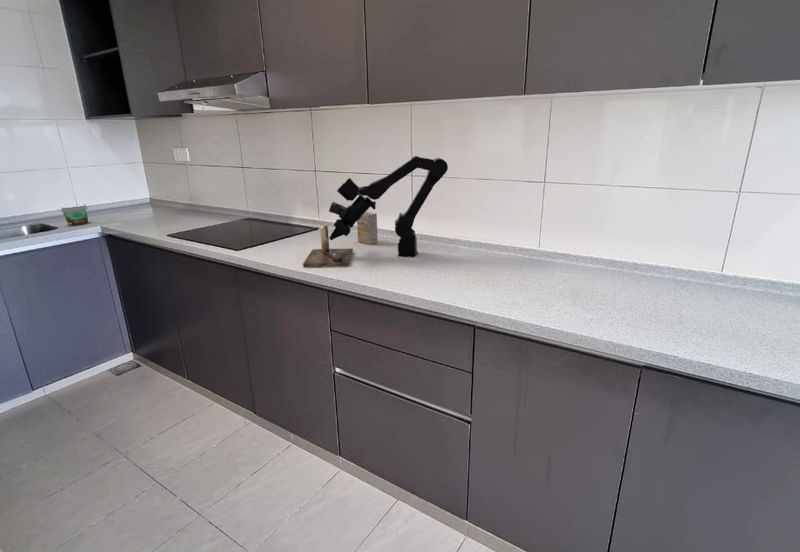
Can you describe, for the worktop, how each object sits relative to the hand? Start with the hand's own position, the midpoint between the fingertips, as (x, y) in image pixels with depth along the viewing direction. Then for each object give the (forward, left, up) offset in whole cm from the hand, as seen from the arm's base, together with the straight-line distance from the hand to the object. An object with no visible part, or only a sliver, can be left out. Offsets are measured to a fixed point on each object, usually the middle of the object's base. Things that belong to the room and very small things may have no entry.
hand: (330, 239), depth 167 cm
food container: (+163, -28, -7) cm, 166 cm away
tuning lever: (-2, +5, -5) cm, 7 cm away
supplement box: (-7, -23, -7) cm, 25 cm away
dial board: (-1, +4, -7) cm, 8 cm away
